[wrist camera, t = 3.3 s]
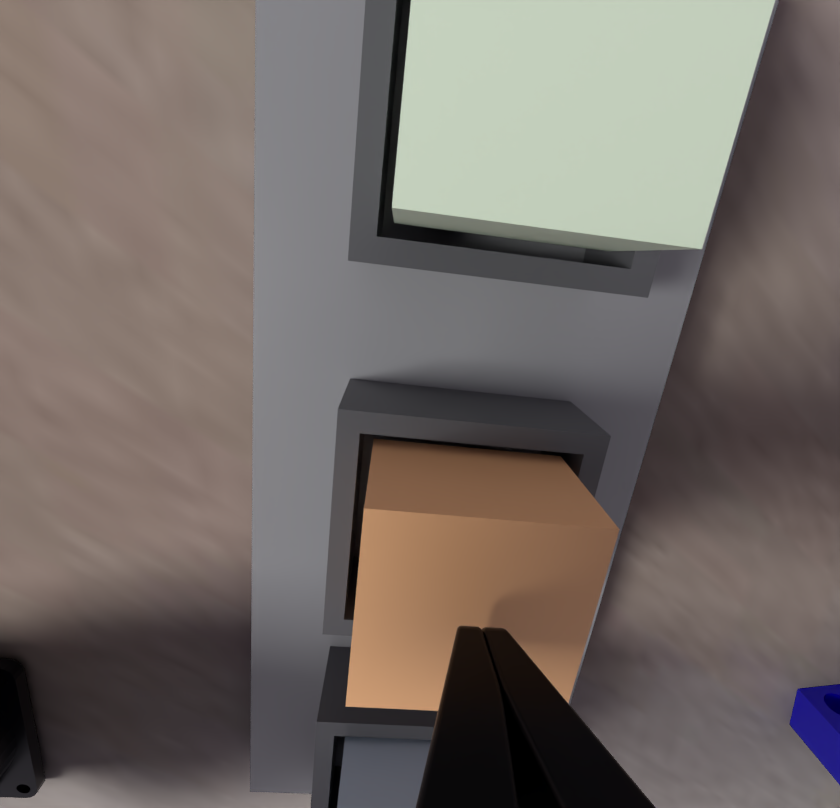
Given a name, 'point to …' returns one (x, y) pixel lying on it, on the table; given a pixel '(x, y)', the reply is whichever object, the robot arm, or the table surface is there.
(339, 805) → the blue grey button
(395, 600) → the terracotta button
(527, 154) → the sage button
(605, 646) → the table surface
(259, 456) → the button panel
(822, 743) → the cable holder
